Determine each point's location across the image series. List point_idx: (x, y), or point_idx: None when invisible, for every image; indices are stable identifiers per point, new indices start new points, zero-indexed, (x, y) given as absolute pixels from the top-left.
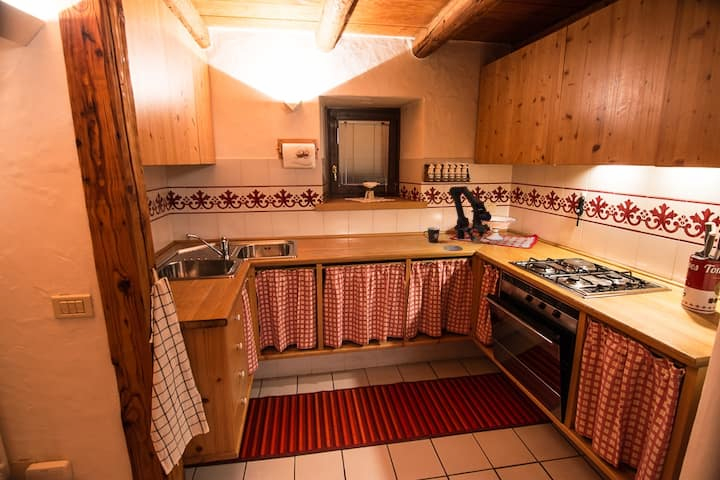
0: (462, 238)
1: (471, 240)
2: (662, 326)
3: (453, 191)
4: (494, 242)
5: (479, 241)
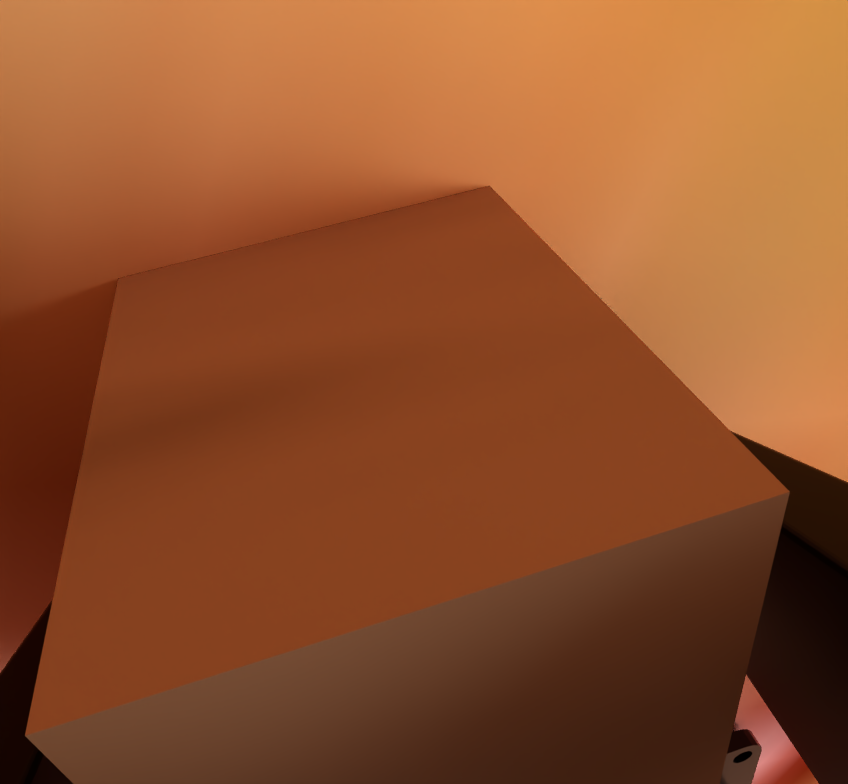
0: None
1: None
2: None
3: None
4: None
5: (188, 332)
